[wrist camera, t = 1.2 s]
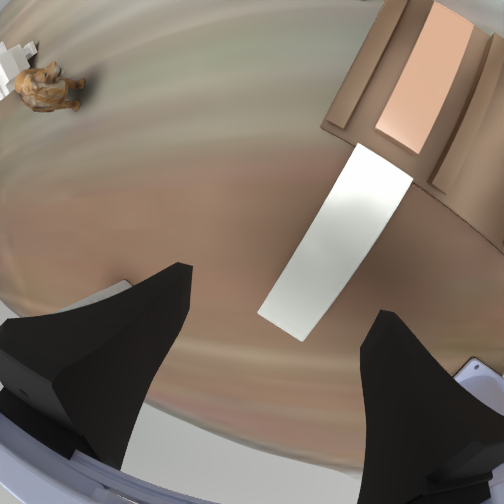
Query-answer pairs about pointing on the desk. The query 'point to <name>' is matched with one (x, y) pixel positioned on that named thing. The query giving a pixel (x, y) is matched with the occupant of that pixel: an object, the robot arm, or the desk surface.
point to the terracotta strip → (425, 80)
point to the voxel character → (13, 65)
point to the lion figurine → (46, 89)
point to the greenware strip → (336, 242)
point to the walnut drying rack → (446, 124)
